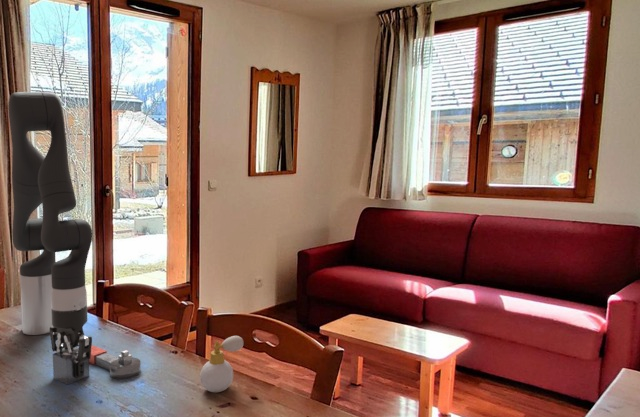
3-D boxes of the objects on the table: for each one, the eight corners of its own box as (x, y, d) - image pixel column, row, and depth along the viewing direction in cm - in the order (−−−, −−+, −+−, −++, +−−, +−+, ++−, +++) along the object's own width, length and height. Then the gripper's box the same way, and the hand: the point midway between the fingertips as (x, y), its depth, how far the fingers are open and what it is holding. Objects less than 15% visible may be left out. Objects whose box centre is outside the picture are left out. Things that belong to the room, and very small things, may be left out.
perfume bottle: (193, 390, 116) (193, 340, 115) (224, 375, 124) (224, 328, 123) (216, 400, 112) (216, 348, 111) (246, 384, 120) (247, 335, 119)
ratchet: (71, 360, 131) (71, 339, 130) (96, 351, 137) (96, 331, 136) (121, 382, 120) (121, 359, 119) (146, 371, 125) (146, 350, 125)
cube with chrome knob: (53, 378, 120) (52, 352, 120) (75, 369, 125) (75, 344, 124) (67, 384, 117) (66, 358, 117) (89, 376, 122) (88, 350, 121)
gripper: (36, 302, 120) (39, 371, 122) (71, 314, 112) (73, 387, 114) (67, 295, 126) (69, 360, 128) (102, 306, 118) (104, 375, 120)
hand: (71, 373), depth 121 cm, fingers closed on cube with chrome knob, 5 cm apart
